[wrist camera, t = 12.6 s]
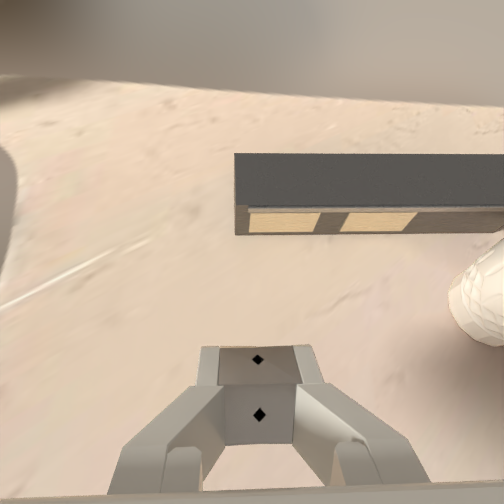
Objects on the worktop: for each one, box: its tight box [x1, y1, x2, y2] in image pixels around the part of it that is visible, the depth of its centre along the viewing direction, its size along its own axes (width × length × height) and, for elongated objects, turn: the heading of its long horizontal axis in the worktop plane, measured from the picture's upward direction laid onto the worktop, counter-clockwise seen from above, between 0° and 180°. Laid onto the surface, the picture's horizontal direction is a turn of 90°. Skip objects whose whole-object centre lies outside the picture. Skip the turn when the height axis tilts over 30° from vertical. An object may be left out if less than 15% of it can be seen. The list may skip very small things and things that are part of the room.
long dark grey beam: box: [234, 153, 504, 235], centre depth 32 cm, size 5×24×5 cm, turn 92°
